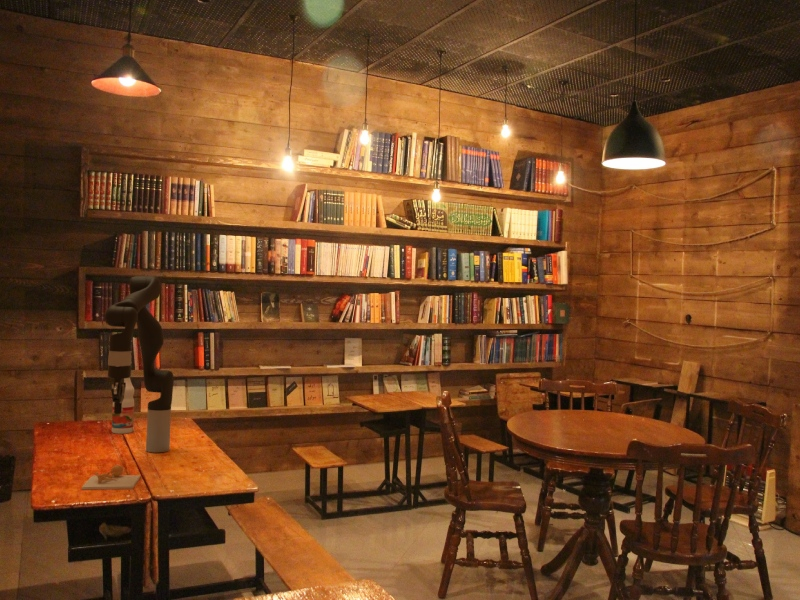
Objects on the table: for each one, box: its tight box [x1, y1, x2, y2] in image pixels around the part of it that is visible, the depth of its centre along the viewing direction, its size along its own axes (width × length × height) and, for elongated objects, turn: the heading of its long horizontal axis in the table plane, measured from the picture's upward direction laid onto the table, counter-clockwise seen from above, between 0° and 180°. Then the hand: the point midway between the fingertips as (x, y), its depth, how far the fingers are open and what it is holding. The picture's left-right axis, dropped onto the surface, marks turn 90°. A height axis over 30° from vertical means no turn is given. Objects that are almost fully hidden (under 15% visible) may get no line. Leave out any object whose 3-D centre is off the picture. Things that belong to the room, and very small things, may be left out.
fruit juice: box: [111, 376, 135, 435], centre depth 330 cm, size 9×9×28 cm
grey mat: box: [80, 474, 141, 491], centre depth 243 cm, size 15×16×1 cm
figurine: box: [94, 464, 124, 483], centre depth 245 cm, size 8×6×12 cm
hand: (117, 413), depth 248 cm, fingers closed
